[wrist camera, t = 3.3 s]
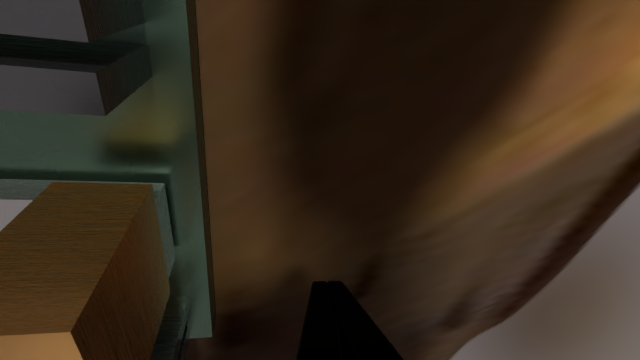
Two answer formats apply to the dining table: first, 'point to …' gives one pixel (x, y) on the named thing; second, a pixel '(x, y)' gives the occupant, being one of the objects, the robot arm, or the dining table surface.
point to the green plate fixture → (115, 122)
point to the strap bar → (82, 269)
